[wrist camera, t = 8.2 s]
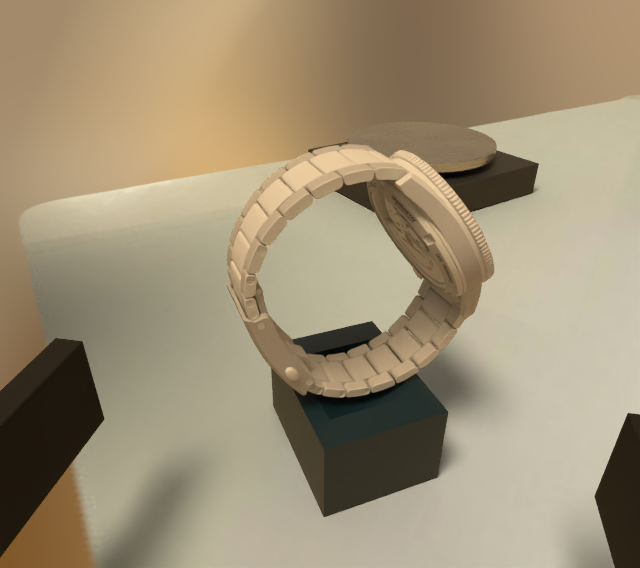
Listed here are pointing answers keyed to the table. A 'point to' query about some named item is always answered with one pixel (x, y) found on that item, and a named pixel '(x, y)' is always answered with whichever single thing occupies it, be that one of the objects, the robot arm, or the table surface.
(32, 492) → the robot arm
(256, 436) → the table surface
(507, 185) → the scale
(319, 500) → the watch
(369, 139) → the scale pan
